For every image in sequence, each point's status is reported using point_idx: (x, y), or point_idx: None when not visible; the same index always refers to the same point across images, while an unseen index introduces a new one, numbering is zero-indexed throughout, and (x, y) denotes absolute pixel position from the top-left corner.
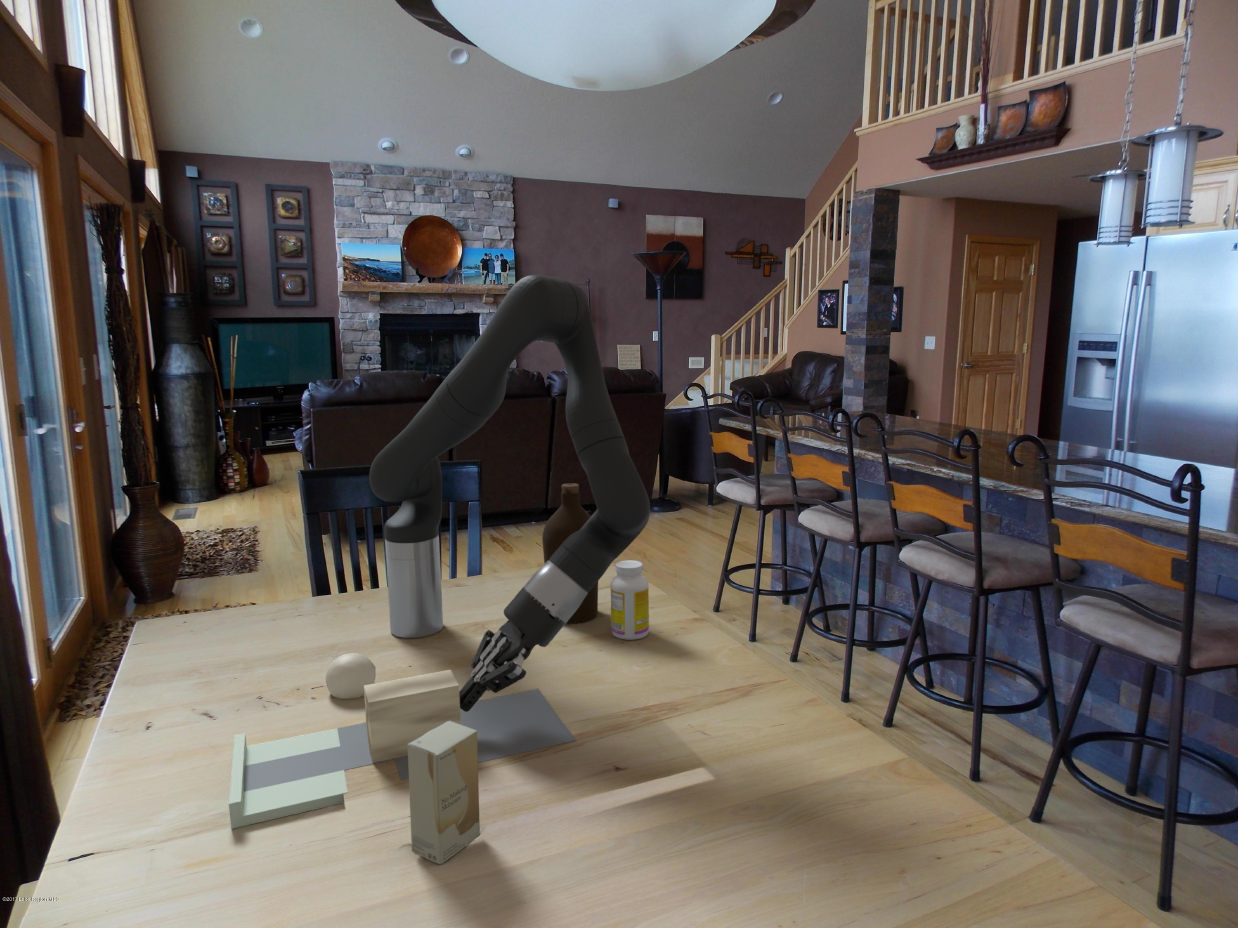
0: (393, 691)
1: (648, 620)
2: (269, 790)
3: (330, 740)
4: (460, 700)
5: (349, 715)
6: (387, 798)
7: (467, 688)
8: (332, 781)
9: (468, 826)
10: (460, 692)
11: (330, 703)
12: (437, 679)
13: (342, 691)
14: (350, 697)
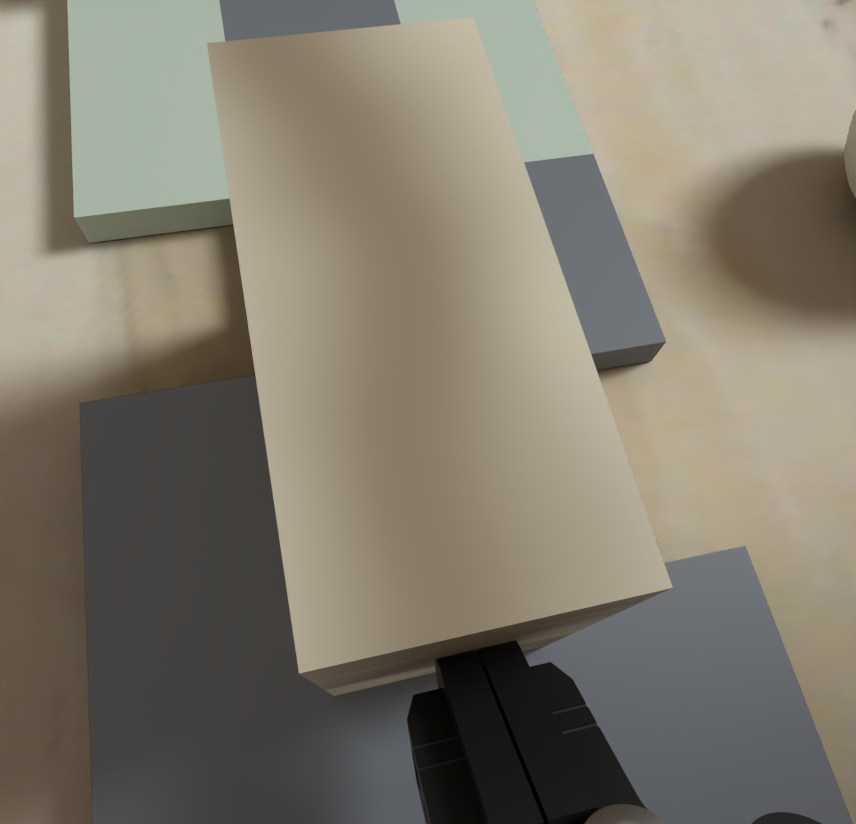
0: (331, 169)
1: None
2: (193, 9)
3: None
4: (443, 690)
5: (750, 205)
6: (50, 371)
7: (478, 758)
8: (177, 167)
9: None
10: (512, 690)
11: None
12: (473, 470)
13: (853, 125)
14: (847, 176)
